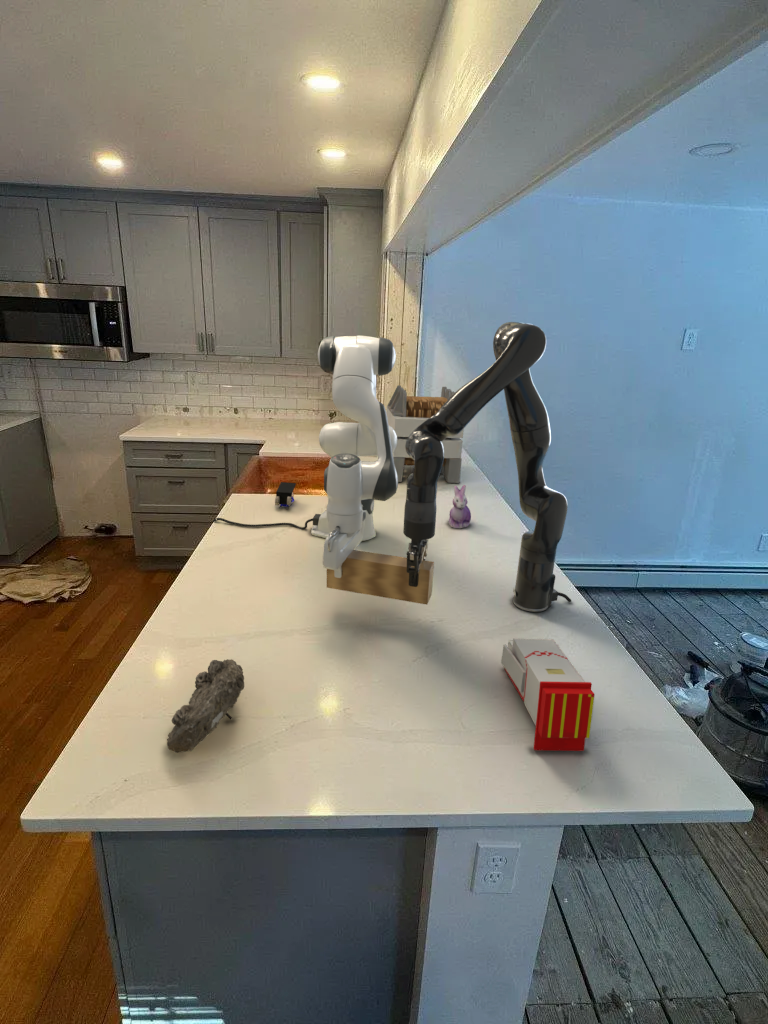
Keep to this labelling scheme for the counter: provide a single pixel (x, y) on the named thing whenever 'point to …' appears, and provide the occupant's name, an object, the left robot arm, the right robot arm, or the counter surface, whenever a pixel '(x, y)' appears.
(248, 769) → the counter surface
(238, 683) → the fossil
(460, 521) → the figurine
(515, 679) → the toy
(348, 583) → the bar
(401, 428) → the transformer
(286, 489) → the figurine character
